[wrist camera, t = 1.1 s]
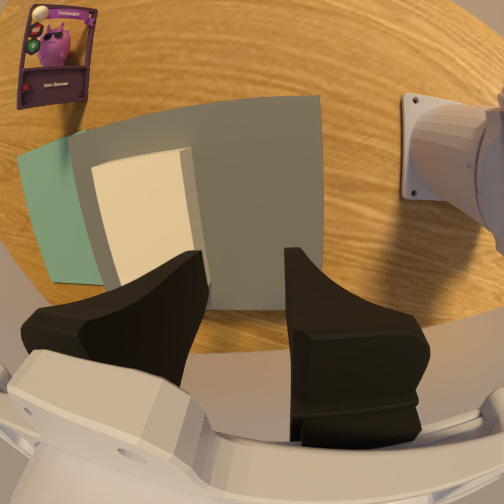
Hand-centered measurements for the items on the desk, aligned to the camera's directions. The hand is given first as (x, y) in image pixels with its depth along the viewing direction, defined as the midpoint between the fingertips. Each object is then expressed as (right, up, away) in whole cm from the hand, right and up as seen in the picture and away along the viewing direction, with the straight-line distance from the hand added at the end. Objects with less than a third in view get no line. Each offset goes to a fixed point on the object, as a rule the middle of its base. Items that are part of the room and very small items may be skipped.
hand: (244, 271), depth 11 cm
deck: (-3, +5, +10) cm, 11 cm away
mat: (-18, +4, +12) cm, 22 cm away
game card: (-15, +18, +5) cm, 24 cm away
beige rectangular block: (-6, +3, +7) cm, 9 cm away
